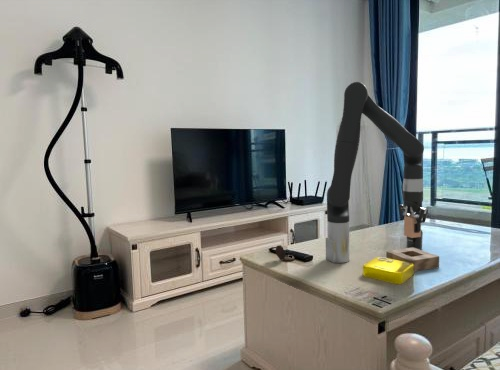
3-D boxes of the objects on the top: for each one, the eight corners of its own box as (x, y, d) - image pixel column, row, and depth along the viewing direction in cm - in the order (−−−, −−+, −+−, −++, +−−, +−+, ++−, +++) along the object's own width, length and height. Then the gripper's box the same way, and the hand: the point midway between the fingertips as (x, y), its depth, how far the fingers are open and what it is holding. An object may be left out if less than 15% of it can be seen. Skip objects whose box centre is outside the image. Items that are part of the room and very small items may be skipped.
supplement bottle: (405, 249, 166) (406, 224, 165) (406, 245, 172) (407, 221, 171) (422, 251, 163) (422, 225, 161) (422, 247, 169) (423, 222, 167)
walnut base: (410, 272, 137) (410, 260, 137) (386, 261, 151) (386, 251, 150) (439, 267, 142) (439, 256, 141) (412, 257, 155) (413, 247, 154)
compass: (297, 260, 157) (297, 244, 156) (283, 263, 153) (282, 247, 152) (286, 255, 163) (286, 240, 163) (272, 258, 159) (272, 243, 159)
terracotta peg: (412, 237, 142) (412, 218, 141) (404, 235, 146) (404, 216, 145) (420, 236, 143) (421, 217, 143) (412, 234, 148) (412, 215, 147)
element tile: (360, 276, 136) (360, 264, 135) (377, 266, 147) (377, 254, 146) (400, 286, 125) (400, 273, 125) (415, 274, 136) (415, 262, 136)
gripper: (392, 188, 148) (392, 228, 150) (418, 192, 135) (418, 236, 137) (407, 187, 151) (407, 226, 153) (434, 190, 137) (433, 234, 139)
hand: (412, 231), depth 145 cm, fingers closed on terracotta peg, 4 cm apart
